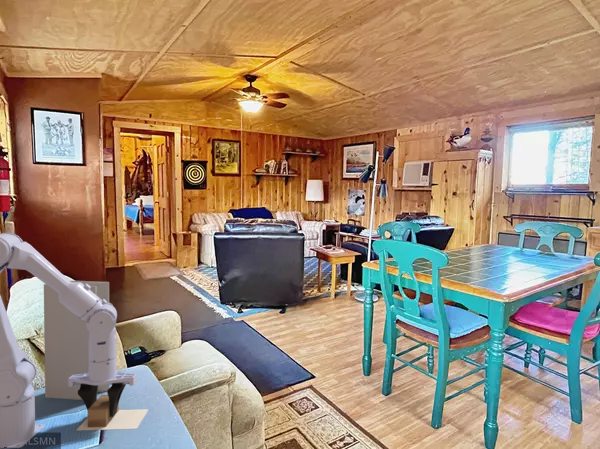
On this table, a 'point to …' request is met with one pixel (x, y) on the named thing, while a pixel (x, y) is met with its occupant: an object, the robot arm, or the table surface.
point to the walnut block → (100, 412)
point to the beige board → (120, 420)
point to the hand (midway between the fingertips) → (103, 414)
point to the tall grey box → (66, 343)
